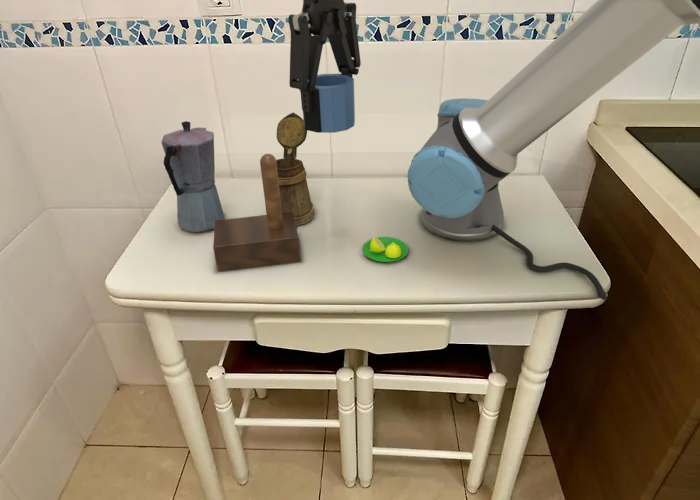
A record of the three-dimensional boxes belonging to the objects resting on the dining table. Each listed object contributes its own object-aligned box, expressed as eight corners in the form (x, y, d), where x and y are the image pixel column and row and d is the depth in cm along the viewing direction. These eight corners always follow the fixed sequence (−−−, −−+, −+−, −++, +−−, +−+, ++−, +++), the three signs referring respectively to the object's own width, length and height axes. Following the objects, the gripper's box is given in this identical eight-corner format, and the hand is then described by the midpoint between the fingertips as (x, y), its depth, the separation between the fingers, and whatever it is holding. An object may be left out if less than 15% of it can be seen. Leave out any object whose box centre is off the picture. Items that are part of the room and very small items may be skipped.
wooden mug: (321, 195, 110) (316, 112, 100) (310, 227, 99) (303, 137, 89) (280, 194, 111) (271, 111, 101) (265, 226, 100) (253, 136, 90)
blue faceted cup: (364, 120, 86) (363, 77, 82) (335, 136, 80) (333, 90, 76) (324, 112, 90) (321, 71, 86) (294, 127, 84) (290, 83, 80)
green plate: (363, 265, 88) (363, 251, 86) (361, 240, 95) (361, 227, 93) (410, 264, 88) (411, 250, 87) (405, 239, 95) (406, 225, 93)
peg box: (295, 235, 97) (286, 142, 87) (300, 261, 89) (291, 163, 79) (219, 243, 95) (201, 149, 85) (218, 271, 87) (198, 172, 77)
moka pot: (238, 205, 107) (222, 110, 96) (212, 245, 94) (191, 141, 83) (193, 203, 108) (173, 109, 97) (162, 243, 96) (135, 140, 85)
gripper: (342, -43, 81) (346, 101, 94) (250, -30, 67) (269, 138, 79) (383, -42, 78) (382, 107, 90) (295, -28, 63) (308, 147, 76)
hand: (329, 122), depth 85 cm, fingers closed on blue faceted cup, 8 cm apart
